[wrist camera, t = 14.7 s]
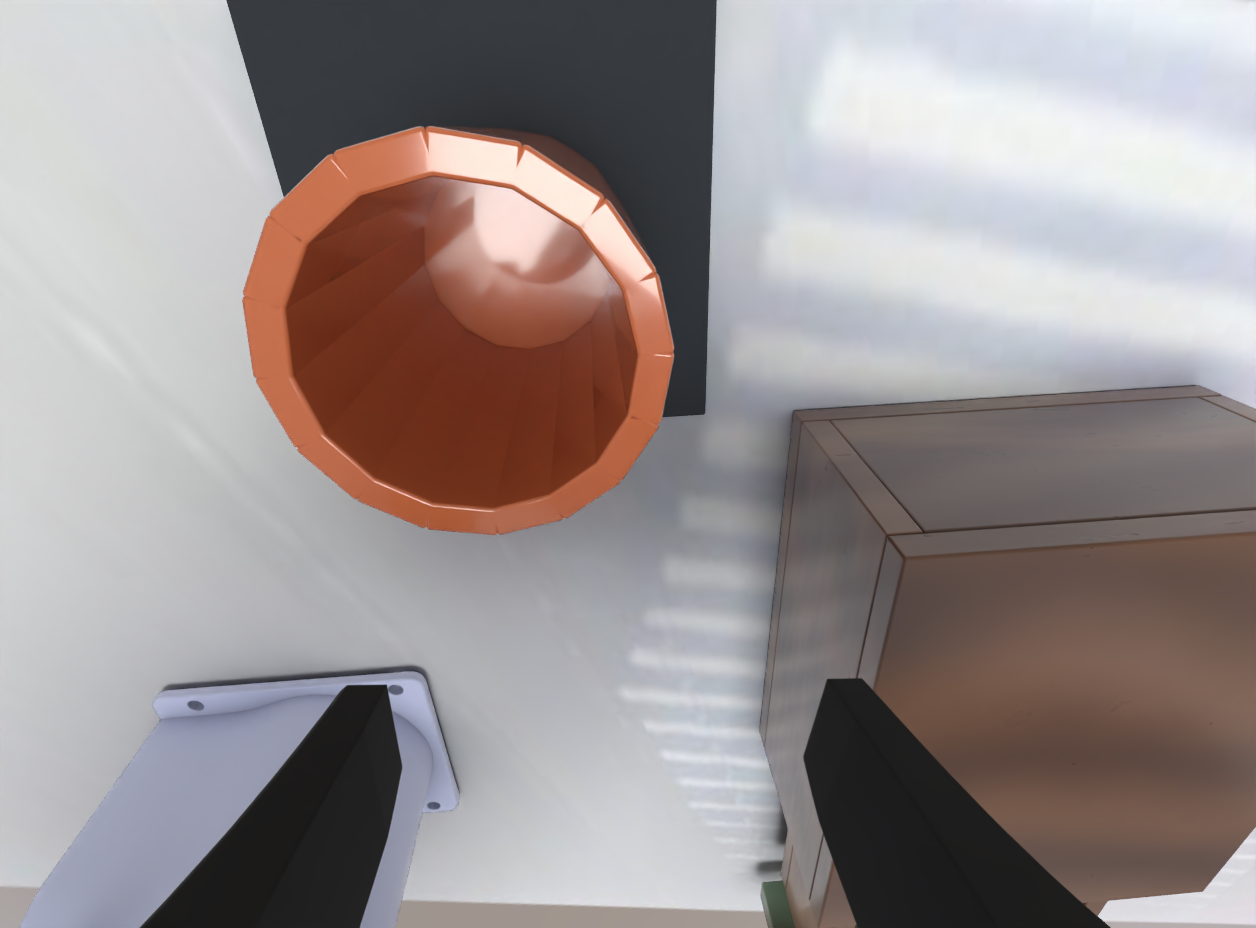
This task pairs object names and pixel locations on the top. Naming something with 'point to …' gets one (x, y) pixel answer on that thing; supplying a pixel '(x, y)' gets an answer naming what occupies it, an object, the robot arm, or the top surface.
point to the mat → (516, 106)
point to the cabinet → (1033, 621)
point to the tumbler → (460, 327)
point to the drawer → (790, 900)
